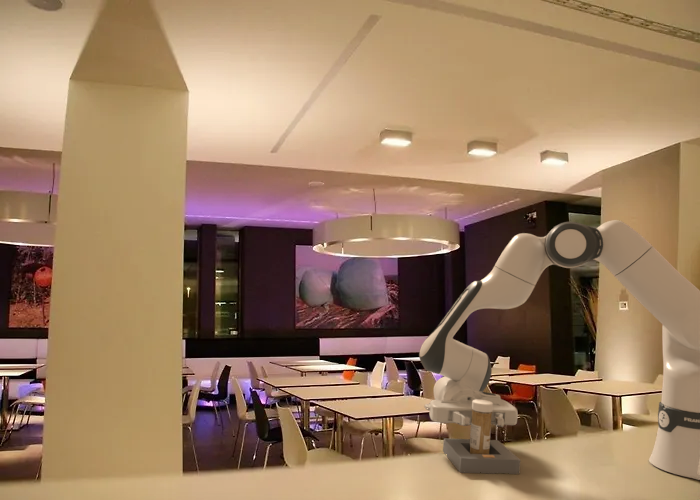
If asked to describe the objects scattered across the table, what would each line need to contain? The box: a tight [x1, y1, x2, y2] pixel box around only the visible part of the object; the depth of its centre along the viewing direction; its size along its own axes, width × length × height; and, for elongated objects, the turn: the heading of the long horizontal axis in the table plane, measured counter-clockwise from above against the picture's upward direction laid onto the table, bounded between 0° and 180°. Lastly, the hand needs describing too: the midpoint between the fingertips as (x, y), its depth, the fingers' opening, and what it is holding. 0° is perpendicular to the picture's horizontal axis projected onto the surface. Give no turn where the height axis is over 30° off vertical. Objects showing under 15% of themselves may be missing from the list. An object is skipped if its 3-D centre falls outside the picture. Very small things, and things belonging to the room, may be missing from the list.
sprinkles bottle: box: [469, 399, 493, 454], centre depth 134 cm, size 5×5×13 cm
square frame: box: [442, 438, 521, 475], centre depth 133 cm, size 13×13×3 cm
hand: (483, 422), depth 132 cm, fingers open, 6 cm apart
